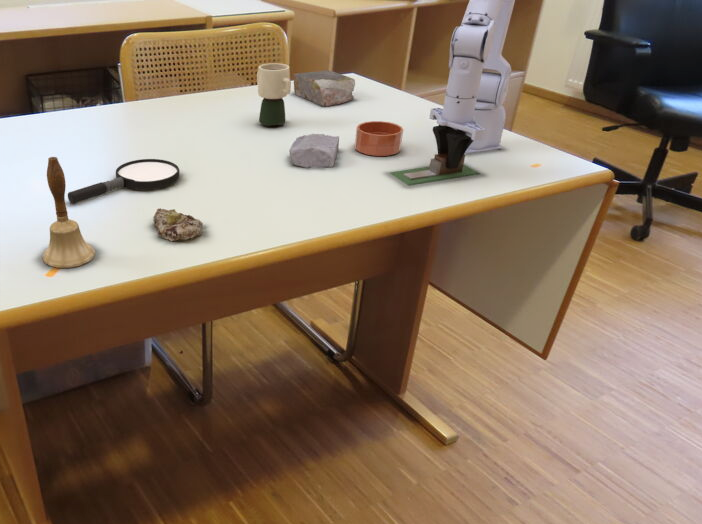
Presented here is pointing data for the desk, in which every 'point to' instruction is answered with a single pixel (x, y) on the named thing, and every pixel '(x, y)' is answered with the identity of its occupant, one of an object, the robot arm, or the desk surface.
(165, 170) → the magnifying glass
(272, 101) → the character mug
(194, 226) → the mineral rock
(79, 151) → the desk surface
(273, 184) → the desk surface
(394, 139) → the bowl
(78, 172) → the desk surface
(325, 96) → the geological specimen
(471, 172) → the green flat rectangular slab
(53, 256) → the hand bell
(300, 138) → the stone block
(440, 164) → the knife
